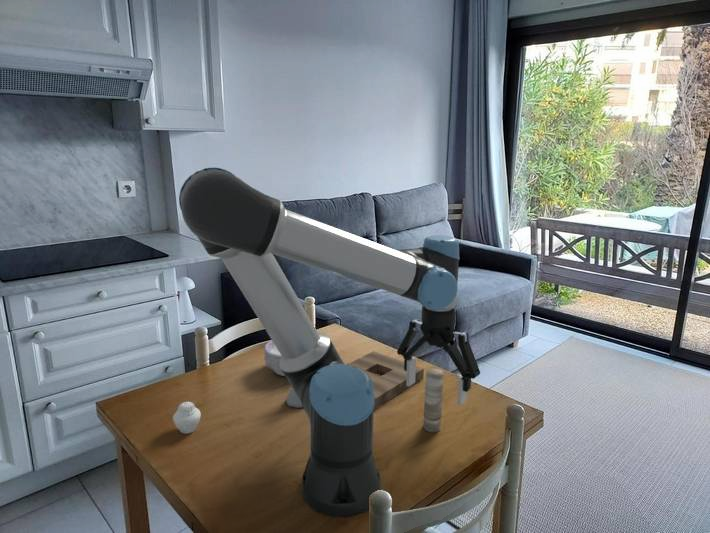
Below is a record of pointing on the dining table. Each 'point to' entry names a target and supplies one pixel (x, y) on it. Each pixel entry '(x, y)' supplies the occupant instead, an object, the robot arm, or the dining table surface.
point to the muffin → (187, 417)
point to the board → (385, 375)
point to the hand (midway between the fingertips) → (435, 393)
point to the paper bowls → (272, 357)
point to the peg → (433, 400)
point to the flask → (293, 399)
